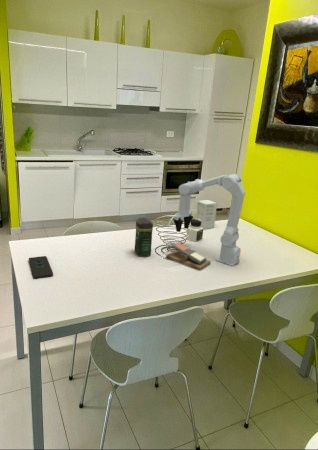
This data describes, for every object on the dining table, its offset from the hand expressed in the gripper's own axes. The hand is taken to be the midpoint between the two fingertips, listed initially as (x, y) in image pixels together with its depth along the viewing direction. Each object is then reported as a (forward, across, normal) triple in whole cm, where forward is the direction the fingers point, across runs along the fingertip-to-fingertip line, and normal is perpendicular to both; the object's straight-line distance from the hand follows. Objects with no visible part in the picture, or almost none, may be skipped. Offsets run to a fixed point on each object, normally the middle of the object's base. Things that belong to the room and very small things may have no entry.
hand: (182, 229), depth 186 cm
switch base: (+10, +13, +13) cm, 21 cm away
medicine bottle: (+10, -16, -1) cm, 19 cm away
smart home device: (+11, +68, -30) cm, 75 cm away
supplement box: (+10, -41, -9) cm, 43 cm away
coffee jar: (+10, +22, -9) cm, 26 cm away
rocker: (+6, +13, +13) cm, 19 cm away
